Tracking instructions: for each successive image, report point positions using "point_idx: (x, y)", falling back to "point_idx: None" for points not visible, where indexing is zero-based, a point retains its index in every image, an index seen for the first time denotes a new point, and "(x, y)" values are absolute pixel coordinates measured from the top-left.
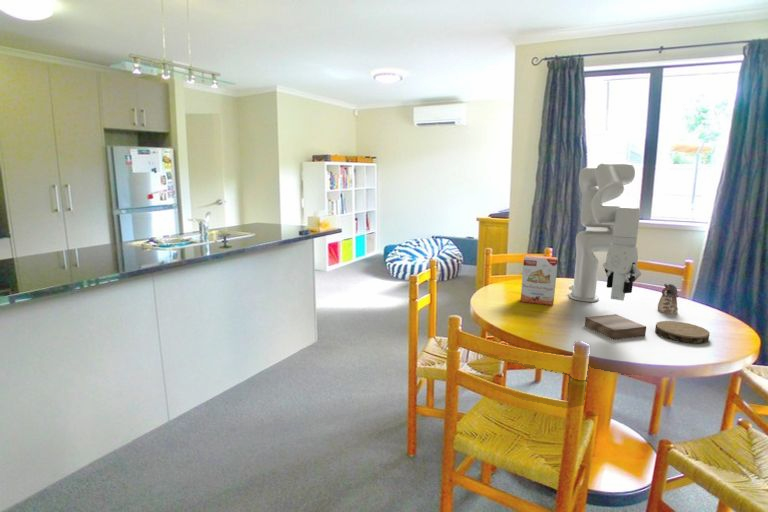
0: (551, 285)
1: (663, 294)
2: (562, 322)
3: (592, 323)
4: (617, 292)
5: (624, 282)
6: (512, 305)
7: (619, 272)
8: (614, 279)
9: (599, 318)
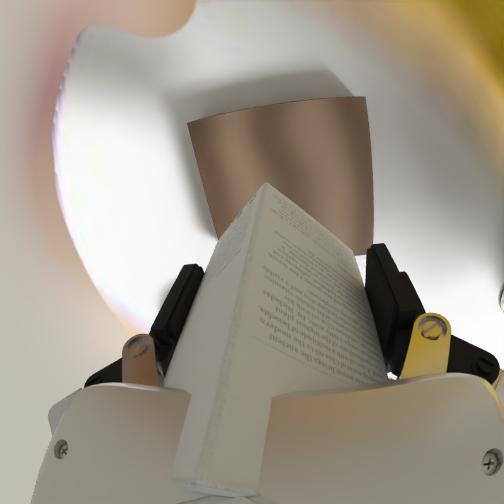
0: None
1: None
2: (400, 41)
3: (314, 99)
4: (232, 236)
5: (164, 325)
6: None
7: (149, 399)
8: (231, 290)
9: (339, 148)
